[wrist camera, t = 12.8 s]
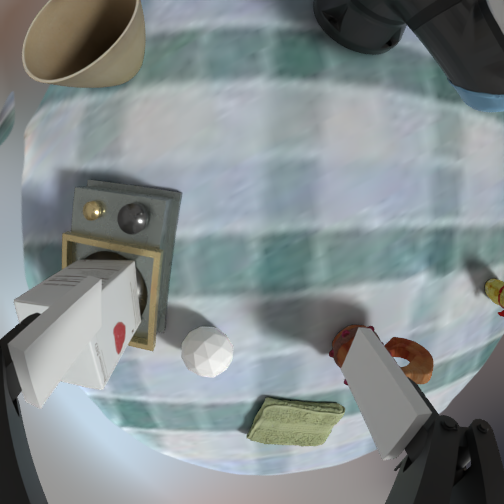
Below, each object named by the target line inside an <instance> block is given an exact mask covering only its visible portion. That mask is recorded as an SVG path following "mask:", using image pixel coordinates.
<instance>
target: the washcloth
mask: <svg viewBox="0 0 504 504" xmlns="http://www.w3.org/2000/svg"><path fill="white" fill-rule="evenodd" d="M344 412H345V408H344V407H343V406H341V405H340V404H336V403H316V402H301V401H299V402H298V401H288V400H278V399H274V398H273V399H272V398H270V397H269V398H266V399H265V402H264V404H263V406H262V407H261V409H260V410H259V412H258V413H257V415H256V417H255V418H254V422H253V425H252V427H251V429H250V431H249V433H248V434H247V438H248V439H250V440H251V441H257V442H260V443H264V444H274V445H275V444H278V445H281V444H282V445H299V446H318V445H322V444H323V443H324V442H325V441H326V439H327V437H328V436H329V434H330V433H331V429H332V428H333V426H334V425H335V424H337V422H339V420H340V419H341V418H342V417H343V415H344Z"/></svg>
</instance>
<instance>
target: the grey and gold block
mask: <svg viewBox="0 0 504 504" xmlns="http://www.w3.org/2000/svg"><path fill="white" fill-rule="evenodd" d="M181 198H182V193H181V192H175V191H168V190H162V189H156V188H149V187H142V186H135V185H128V184H121V183H114V182H106V181H99V180H88V182H87V186H84V187H75V192H74V202H73V213H72V228H71V232H69V231H68V232H65V233H63V235H62V269H64V268H66V267H67V266H69V265H71V264H72V263H74V262H76V261H77V260H133V261H135V269H136V280H137V290H138V299H139V308H140V316H141V323H140V325H139V326H138V328H137V330H136V331H135V333H134V335H133V337H132V338H131V340H130V342H129V344H128V345H129V346H133V347H137V348H141V349H145V350H150V351H153V350H154V348H155V343H156V334H157V332H161V333H164V331H165V324H166V313H167V302H168V292H169V283H170V274H171V266H172V258H173V250H174V243H175V236H176V229H177V223H178V216H179V210H180V204H181Z"/></svg>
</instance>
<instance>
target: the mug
mask: <svg viewBox="0 0 504 504" xmlns="http://www.w3.org/2000/svg"><path fill="white" fill-rule="evenodd" d="M359 327H361V328H370V329H371V330H372V331H373V332H374V333H375V331H374V327H373V326H368V327H366V326H364V325H350V326H347V327H346V328H344V329H343V330H342V331H341V332H339V333H338V334H337V336H336V337H335V338H334V340H333V343H332V347H333V349H332V350H331V351H330V352H329V356H330V357H333V358H334V360H335V363H336V364H337V365H338V366H339V367H340V368H341V367H342V365H343V363H344V361H345V358H346V356H347V354H348V352H349V349H350V347H351V345H352V342H353V340H354V338H355V335H356V333H357V330H358V328H359ZM375 335H376V336H377V337H378V335H377V334H376V333H375ZM378 339H379V337H378ZM379 340H380V339H379ZM381 343H382V342H381ZM382 344H383V343H382ZM383 345H384V344H383ZM384 347H385V348H386V349H387V351H388V352H389V353H390V355H391V356H392V357H401V358H404V359H407V360H408V361H409V362H410V363H409V364H408V365H407V366H405V367H400V366H399V365H398V366H399V367H400V368H401V370H402V371H403V372H404V374H405V375H406V377H409V378H410V379H411V380H413V381H414V382H415V383H416V384H425V383H427V382H428V381H429V380H430V378H431V376H432V371H433V358H432V356H431V354H430V353H429V352H428V351H427V350H426V349H425V348H424V347H423V346H421V345H419V344H418V343H416V342H414V341H411V340H408V339H404V338H398V337H393V338H392V339H391V340H390V341H389V342H388V343H387V344H386V345H385V346H384ZM393 359H394V358H393ZM394 360H395V359H394ZM396 363H397V362H396ZM344 384H346V385H348V383H347V381H346V379H345V380H344Z"/></svg>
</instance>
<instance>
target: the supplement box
mask: <svg viewBox="0 0 504 504" xmlns="http://www.w3.org/2000/svg"><path fill="white" fill-rule="evenodd" d="M87 276H93V277H97V278H100V279H102V287H101V317H102V327H101V328H100V329H99V330H98V332H97V333H96V334H95V335H94V337H93V338H92V339H91V341H90V342H89V343H88V345H87V346H86V347H85V348H84V350H83V351H82V352H81V354H80V355H79V356H78V358H77V359H76V360H75V362H74V363H73V364H72V366H71V367H70V368H69V370H68V371H67V373H66V374H65V375H64V377H63V378H62V379H61V381H62V382H66V383H70V384H74V385H78V386H83V387H87V388H93V389H100V390H103V389H104V387H105V385H106V383H107V382H108V380H109V378H110V376H111V374H112V372H113V370H114V369H115V367H116V365H117V363H118V361H119V360H120V358H121V356H122V354H123V352H124V351H125V349H126V347H127V345H128V344H129V342H130V340H131V338H132V337H133V335H134V333H135V331H136V330H137V328H138V326H139V325H140V323H141V316H140V308H139V299H138V290H137V280H136V269H135V261H133V260H77V261H76V262H74V263H72V264H71V265H69V266H67V267H66V268H64V269H62V270H61V271H59V272H57V273H56V274H54V275H53V276H51V277H49V278H48V279H46V280H45V281H43V282H41V283H40V284H38V285H37V286H35V287H33V288H32V289H30V290H29V291H27V292H26V293H24V294H22V295H21V296H20V297H18V298H16V299H14V304H15V309H16V312H17V316H18V320H19V323H21V321H22V320H23V319H25V318H26V317H27V316H29V315H32V314H34V313H37V312H38V313H40V314H42V313H43V312H44V311H45V310H47V309H48V308H49V307H50V306H51V305H53V304H54V303H55V302H56V301H57V300H59V299H60V298H61V297H62V296H63V295H65V294H66V293H67V292H68V291H70V290H71V289H72V288H73V287H75V286H76V285H77V284H78V283H80V282H81V281H82V280H83V279H85V278H86V277H87Z"/></svg>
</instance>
